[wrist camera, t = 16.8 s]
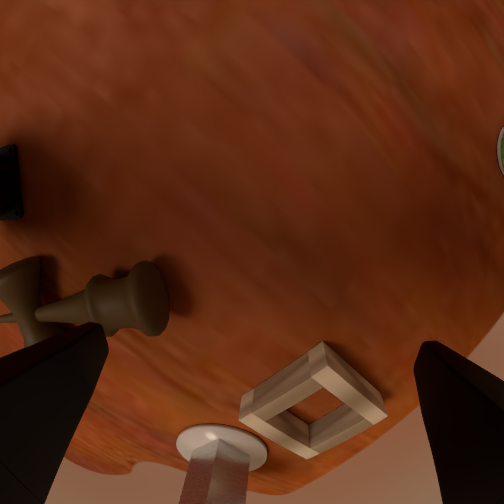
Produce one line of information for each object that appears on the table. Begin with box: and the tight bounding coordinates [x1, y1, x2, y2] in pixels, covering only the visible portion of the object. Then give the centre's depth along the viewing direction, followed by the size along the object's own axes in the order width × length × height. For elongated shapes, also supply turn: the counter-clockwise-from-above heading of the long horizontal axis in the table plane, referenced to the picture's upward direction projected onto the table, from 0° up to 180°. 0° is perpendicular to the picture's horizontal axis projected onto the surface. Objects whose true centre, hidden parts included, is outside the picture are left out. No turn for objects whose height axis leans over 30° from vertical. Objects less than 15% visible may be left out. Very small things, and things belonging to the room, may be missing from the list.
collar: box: [239, 341, 388, 459], centre depth 23 cm, size 9×9×3 cm
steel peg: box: [179, 438, 250, 504], centre depth 23 cm, size 4×4×12 cm
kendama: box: [0, 257, 170, 348], centre depth 21 cm, size 6×10×20 cm
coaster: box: [177, 424, 267, 472], centre depth 28 cm, size 10×10×1 cm
